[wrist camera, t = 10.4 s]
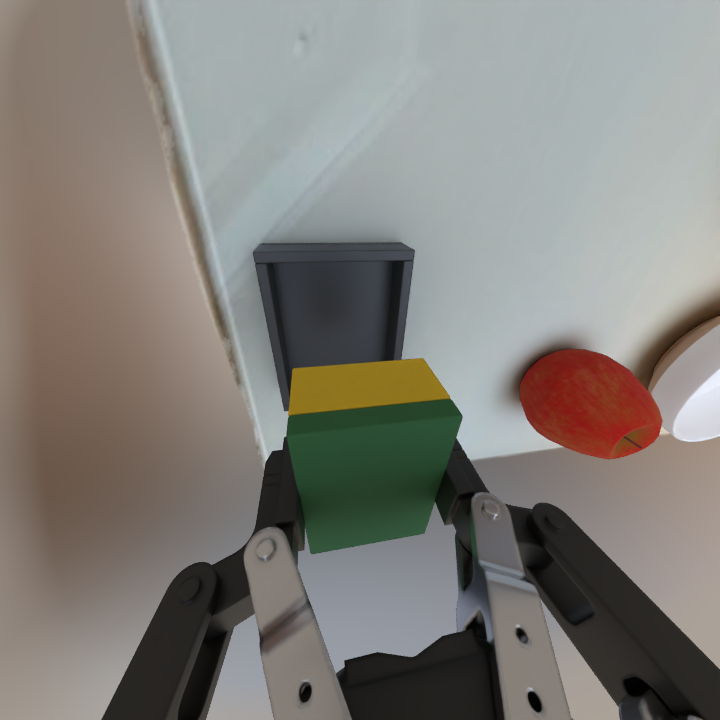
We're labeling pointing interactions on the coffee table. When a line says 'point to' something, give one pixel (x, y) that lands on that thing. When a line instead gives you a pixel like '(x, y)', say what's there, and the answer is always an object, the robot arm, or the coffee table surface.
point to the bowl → (690, 384)
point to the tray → (333, 303)
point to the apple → (589, 404)
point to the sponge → (368, 449)
